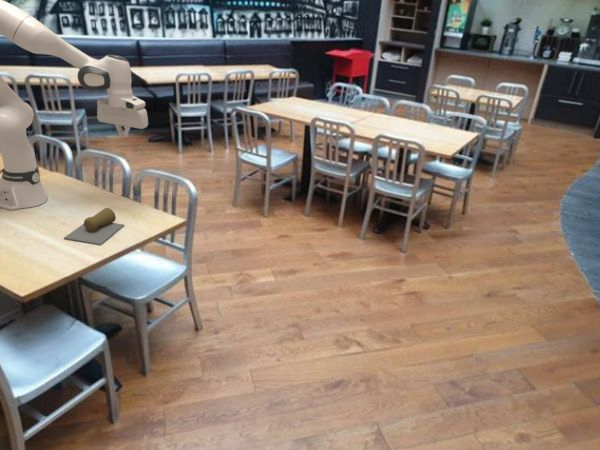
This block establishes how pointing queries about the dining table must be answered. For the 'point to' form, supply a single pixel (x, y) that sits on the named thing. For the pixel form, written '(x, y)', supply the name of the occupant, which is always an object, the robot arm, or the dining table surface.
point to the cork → (99, 219)
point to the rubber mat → (94, 234)
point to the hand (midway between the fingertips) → (123, 136)
